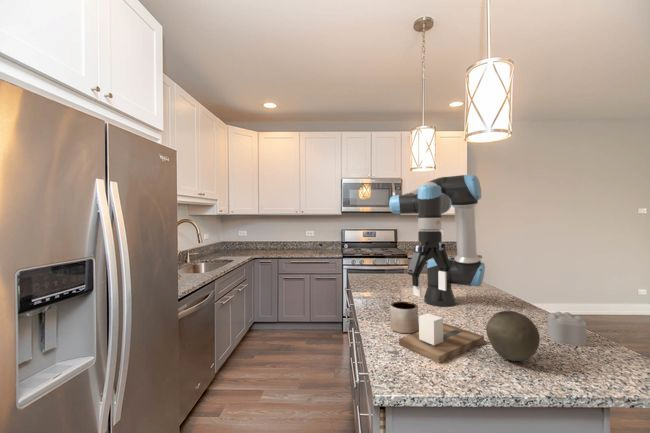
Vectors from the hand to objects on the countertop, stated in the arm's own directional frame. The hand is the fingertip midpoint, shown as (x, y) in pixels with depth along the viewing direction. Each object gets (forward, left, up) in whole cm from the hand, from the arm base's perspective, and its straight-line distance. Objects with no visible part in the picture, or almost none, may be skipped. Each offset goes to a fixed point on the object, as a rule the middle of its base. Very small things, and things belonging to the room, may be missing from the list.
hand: (430, 292), depth 102 cm
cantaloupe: (-13, +20, -19) cm, 31 cm away
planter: (-6, -17, -19) cm, 26 cm away
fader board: (-6, 0, -19) cm, 20 cm away
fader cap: (0, 0, -16) cm, 16 cm away
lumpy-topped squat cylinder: (-47, +23, -19) cm, 56 cm away
